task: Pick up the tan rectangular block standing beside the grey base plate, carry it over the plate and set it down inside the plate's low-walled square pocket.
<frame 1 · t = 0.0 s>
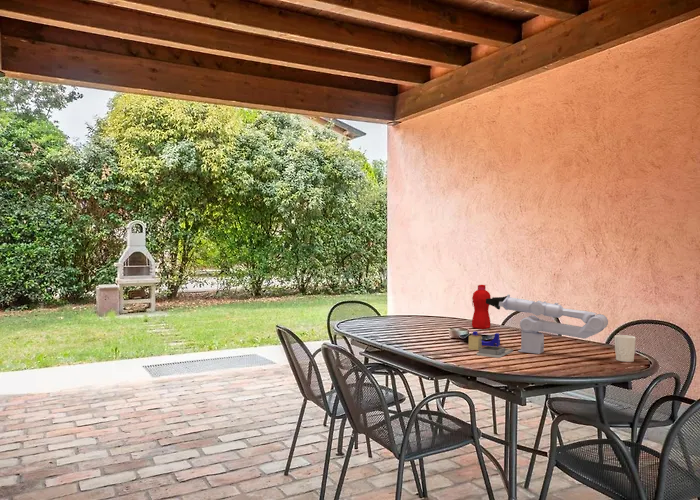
hand: (489, 300, 263), 22 cm above the table, tool horizontal, fingers open, 7 cm apart
white cup: (624, 360, 235), on the table
cable clip: (486, 345, 269), on the table
water bottle: (479, 328, 324), on the table
grey base plate: (495, 353, 247), on the table
tan rectangular block: (475, 349, 257), on the table
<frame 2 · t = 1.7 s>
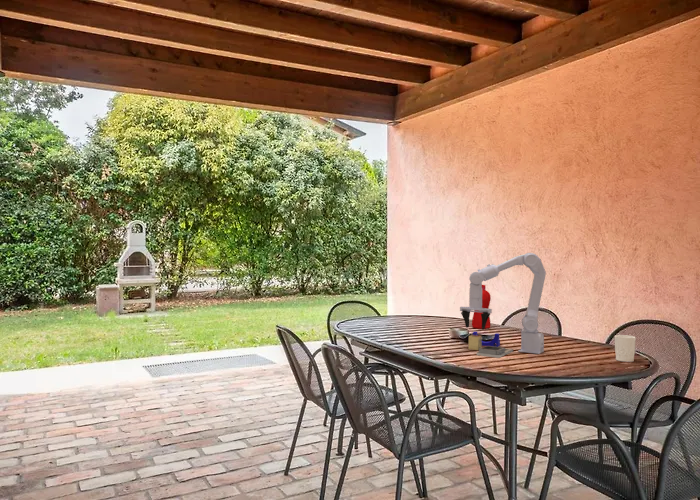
hand: (475, 328, 257), 10 cm above the table, tool pointing down, fingers open, 7 cm apart
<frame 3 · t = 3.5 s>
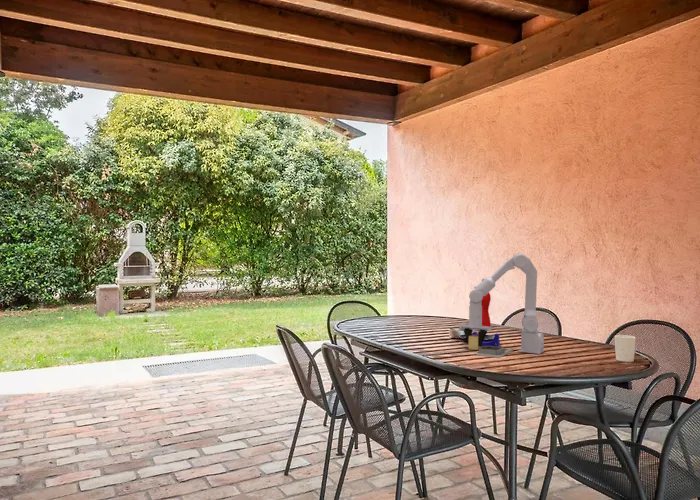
hand: (475, 345, 257), 1 cm above the table, tool pointing down, fingers closed on tan rectangular block, 4 cm apart
tan rectangular block: (475, 348, 257), on the table, touching gripper
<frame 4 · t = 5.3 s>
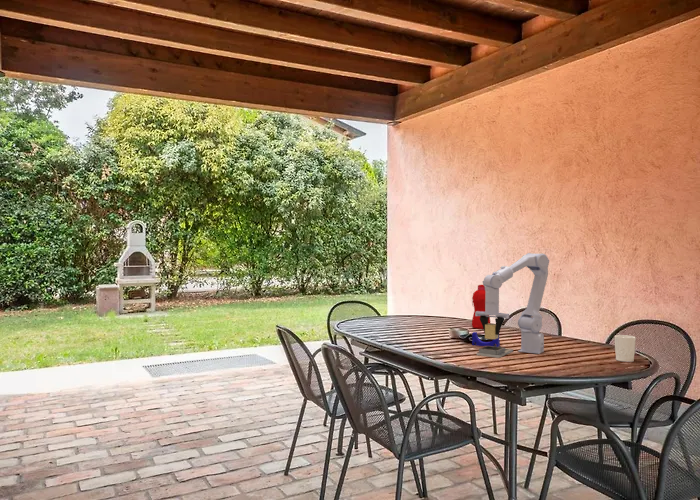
hand: (491, 333, 244), 9 cm above the table, tool pointing down, fingers closed on tan rectangular block, 5 cm apart
tan rectangular block: (491, 338, 244), point 7 cm above the table, touching gripper
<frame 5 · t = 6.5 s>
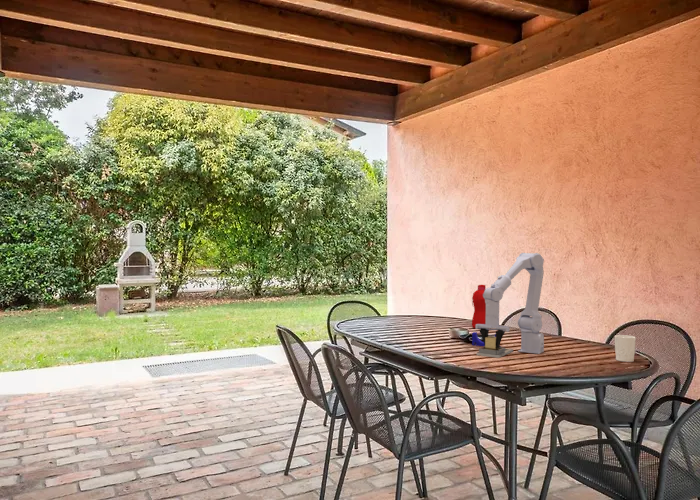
hand: (491, 346, 244), 3 cm above the table, tool pointing down, fingers closed on tan rectangular block, 5 cm apart
tan rectangular block: (491, 351, 244), point 2 cm above the table, touching gripper
when the fingers open (3 cm above the table, at t = 7.3 s): tan rectangular block stays where it is, resting on grey base plate.
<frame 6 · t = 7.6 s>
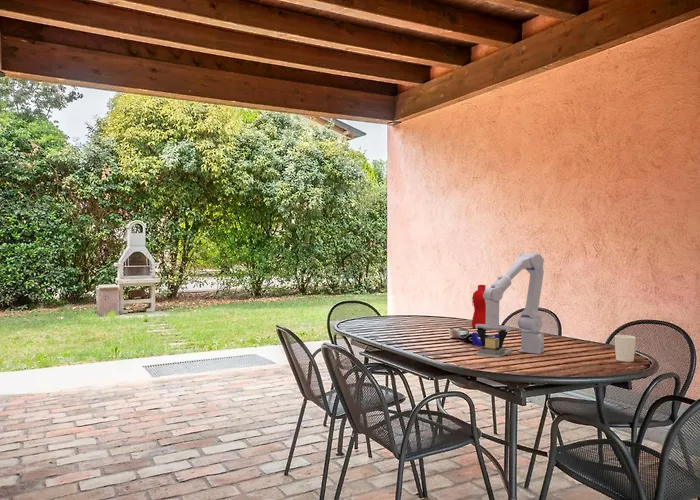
hand: (491, 346, 244), 3 cm above the table, tool pointing down, fingers open, 7 cm apart
tan rectangular block: (491, 352, 244), point 1 cm above the table, touching grey base plate
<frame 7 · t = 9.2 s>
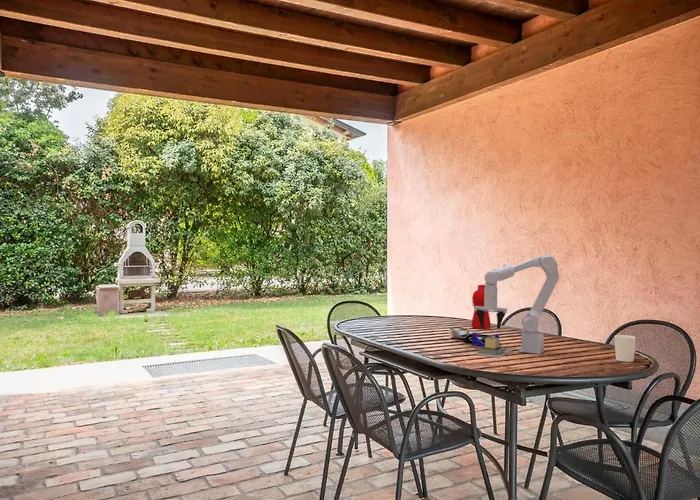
hand: (490, 327, 256), 10 cm above the table, tool pointing down, fingers open, 7 cm apart
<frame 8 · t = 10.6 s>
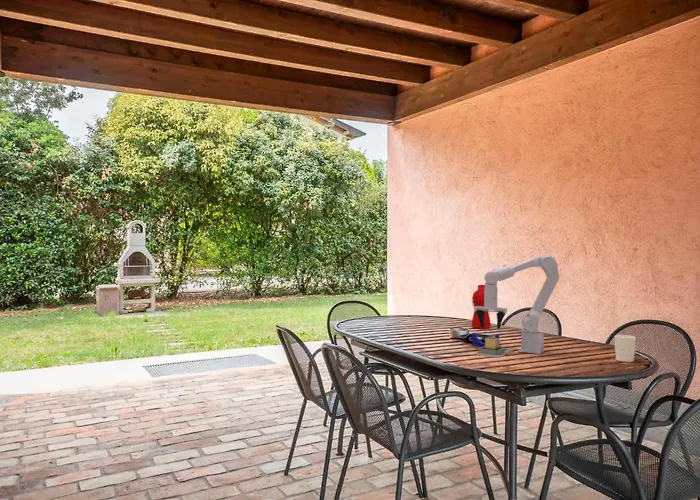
hand: (490, 327, 256), 10 cm above the table, tool pointing down, fingers open, 7 cm apart
at the end: tan rectangular block 0.0 cm from the target spot on the grey base plate, point 1.0 cm above the grey base plate's base; tan rectangular block tilted 0°; the gripper is holding nothing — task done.
